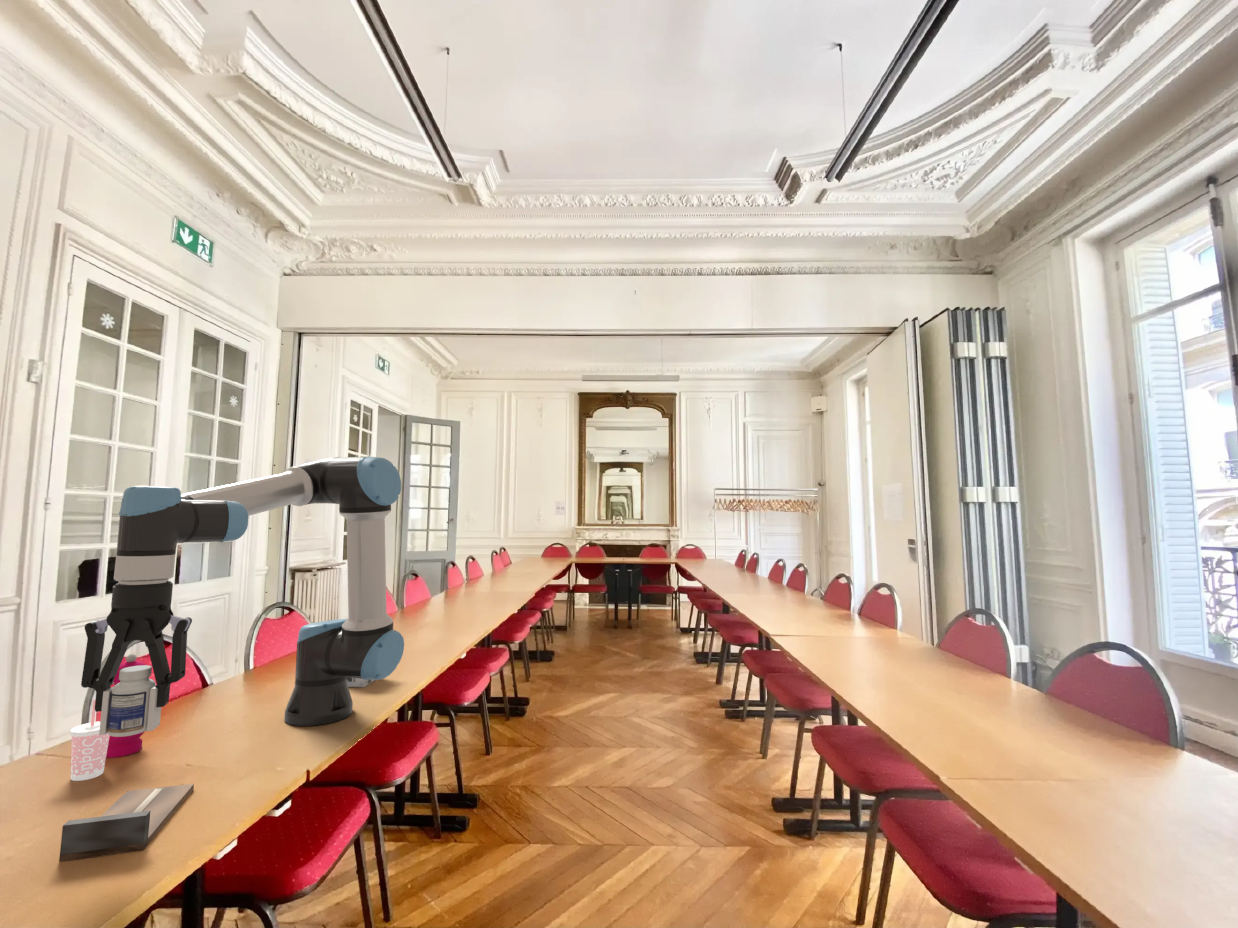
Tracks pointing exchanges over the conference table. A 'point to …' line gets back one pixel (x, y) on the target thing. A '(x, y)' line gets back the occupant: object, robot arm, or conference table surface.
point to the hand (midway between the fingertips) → (130, 729)
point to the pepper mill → (125, 743)
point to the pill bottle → (130, 701)
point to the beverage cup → (88, 750)
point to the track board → (122, 824)
